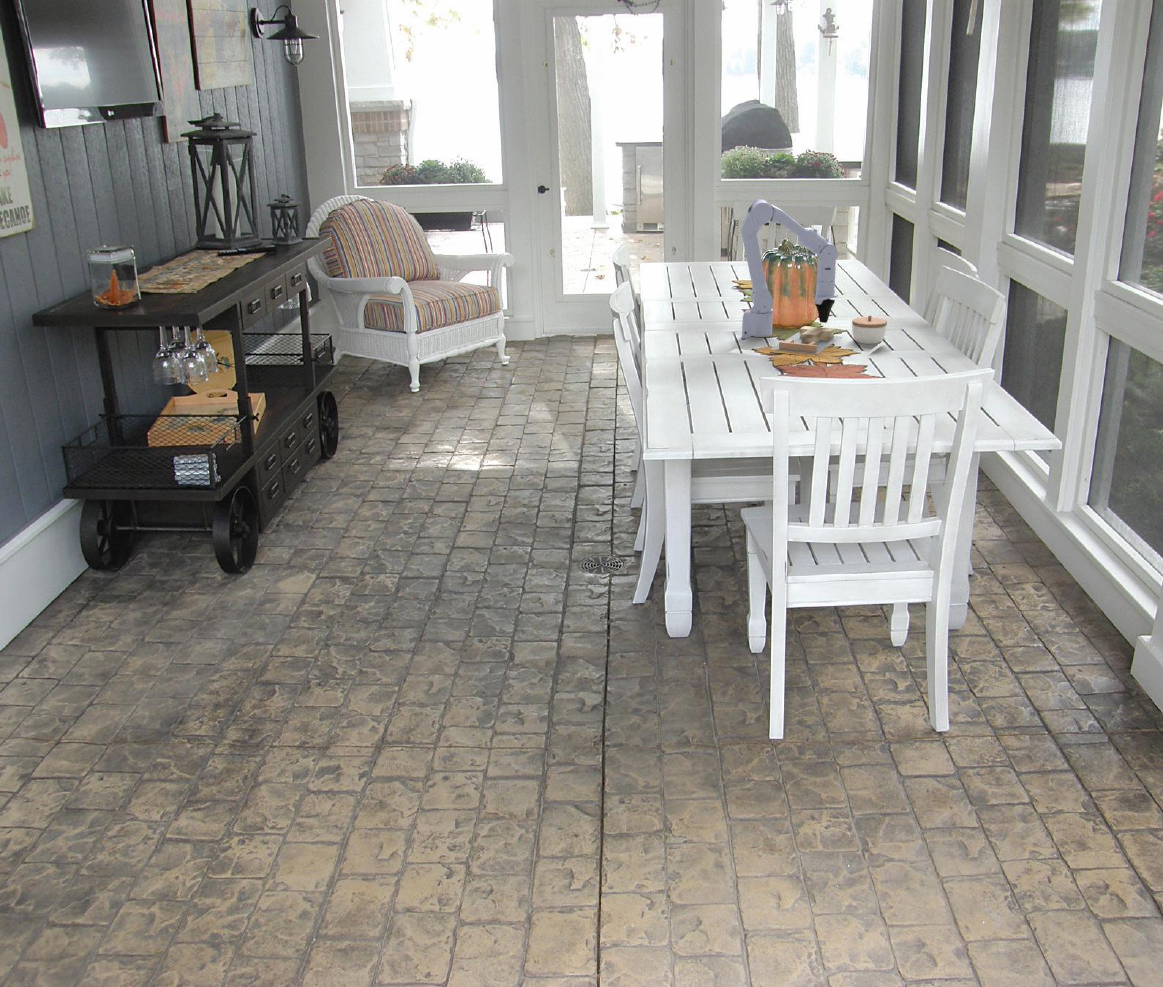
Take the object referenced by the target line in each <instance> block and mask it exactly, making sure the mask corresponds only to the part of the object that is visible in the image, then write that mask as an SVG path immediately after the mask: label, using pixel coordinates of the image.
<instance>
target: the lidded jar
mask: <svg viewBox="0 0 1163 987" xmlns="http://www.w3.org/2000/svg"><path fill="white" fill-rule="evenodd" d="M851 324H852V326H851V328H852V330H851V331H852V336H853V339H854V341H855V342H857V343H858V344H865V345H866V344H867V345H872V344H873V345H875V344H877V345H875V347H878V344H879V343H881V342H882V341H883V340H884V338H885V336H886V331H887V325H888V321H887V320H886V319H884V318H879V317H872V314H871V315H867V317H866V316H863V317H857V318H853V319H852V321H851Z"/></svg>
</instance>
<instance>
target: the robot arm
mask: <svg viewBox="0 0 1163 987" xmlns="http://www.w3.org/2000/svg"><path fill="white" fill-rule="evenodd" d="M769 221H770V222H771V223H778V224H780V225H782V226H783V227H784V228H786V229H788V230H789V231H790V232H792V233H793V234H795V235H796V236H797V237H798V243H799V244H801V245H802V246H803V247H805V248H806V249H807V250H808V251H810V252H811V253H812V254H814V255H815V254H816V256H817V257H818V264H817V273H816V290H815V292H816V293H815V297H814V306H815V307H816V310H817V313H818V314H817V315H818V319H819V322H820V323H824V324H826V323H828V320H829V316H830V313H831V310H832V307H833V306H834V304H835V299H833V298H838V297H839V294H836V290H835V289H836V288H835V286H836V270H837V269H836V268H837V266H836V262H837V258H838V257H839V251H838V248H837V247H836V246H835V245H834V244H833V242H831V241H830V239H829V238H827V237H826V238H825V237H823V235H821V234H820V233H819V232H818V229H817V228H812V227H803V226H802V225H801V224H800V223H799V222H797V221H796V220H795V219H794V218H793V217H791V216H790V215H789V214H787V213H786V212H785V211H784V210H782V209H781V208H779V207H777V206H776V205H774V204H772V203H769V202H768V201H767V200H765V199H762V198H761V199H760V198H759V199H756V200H755V201H753V202H752V204H751V205H749V207H748V209H747V212H746V215H745V217H744V220H743V222H742V225H741V228H740V233H741V237H742V242H743V248H744V254H745V258H746V262H747V266H748V272H749V276H750V281H751V287H752V288H751V289H752V293H751V302H752V304H753V306H752V307H751V308H750V309H746V310H745V311H744V313H743V314H742V324H741V325H742V327H741V337H740V339H746V340H747V339H748V338H750V337H757V338H767V337H771V336H772V335H773V321H774V309H773V306H774V298H773V297H772V295H771V292H770V291H769V288H768V284H767V281H766V280H767V279H766V275H765V270H764V265H763V260H762V255H761V251H760V245H759V240H758V236H757V234H758V232H759V230H760V229H761V228H762V227H763V225H765V224H768V222H769Z"/></svg>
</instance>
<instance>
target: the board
mask: <svg viewBox="0 0 1163 987" xmlns="http://www.w3.org/2000/svg"><path fill="white" fill-rule="evenodd" d="M842 338H843V336H837V335H834V338H833V339H831V340H830V341H828V340H820V341H818V342H811V343H809V344H805V343H801V342H802V338H800V331H799V332H797V333H795V334H793V335H792V336H790V337H788V338H786V339H785V340H783V341H781V340H780V341H779V342H778V344H776V345H775V346H773V347H771V348H770V350H771V351H770V352H769V354H777V355H782V354H785V352H789V353H788V354H789V355H788V356H791V355H794V354H792V353H796V354H797V353H799V354H809V355H819V353H821V352H823V351H824V350H825V349H827V348H828V347H830V346H831V345H833V344H835V342H837V341H838V340H840V339H842ZM772 350H773V351H774V352H773V351H772ZM775 351H781V352H775ZM783 352H784V353H783ZM790 352H791V353H790Z"/></svg>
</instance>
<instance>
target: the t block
mask: <svg viewBox="0 0 1163 987" xmlns="http://www.w3.org/2000/svg"><path fill="white" fill-rule="evenodd" d="M799 332H800V338H802V342H801V343H805V344H809V343H811V342H818V341H820V340H828V341H830V340H831V339H833V338H834V336H835V328H829V327H818V326H817V327H816V326H807V325H805V326H804V325H803V326H802V327H800V329H799Z"/></svg>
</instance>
